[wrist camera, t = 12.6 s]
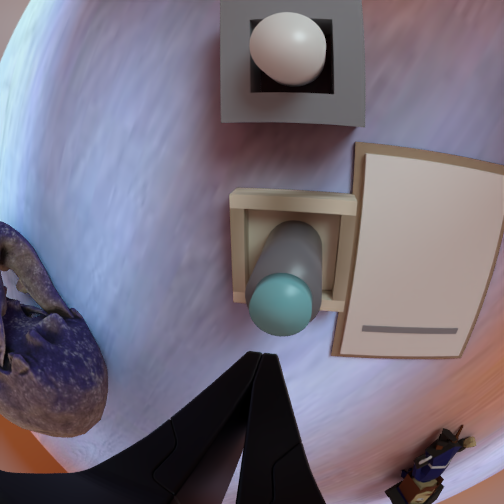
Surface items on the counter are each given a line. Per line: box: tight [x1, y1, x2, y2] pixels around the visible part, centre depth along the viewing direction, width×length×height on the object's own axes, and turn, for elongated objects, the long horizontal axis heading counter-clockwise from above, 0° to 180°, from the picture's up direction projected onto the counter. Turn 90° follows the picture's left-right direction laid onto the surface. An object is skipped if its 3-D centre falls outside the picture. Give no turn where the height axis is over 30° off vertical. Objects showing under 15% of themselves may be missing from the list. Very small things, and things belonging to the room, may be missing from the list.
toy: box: [385, 425, 476, 504], centre depth 25 cm, size 9×6×15 cm
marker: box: [245, 220, 322, 336], centre depth 16 cm, size 3×3×7 cm
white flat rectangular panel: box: [331, 142, 504, 359], centre depth 18 cm, size 11×15×1 cm
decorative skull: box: [0, 221, 108, 437], centre depth 23 cm, size 12×18×20 cm
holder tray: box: [229, 188, 357, 312], centre depth 19 cm, size 7×7×2 cm
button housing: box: [220, 0, 365, 127], centre depth 14 cm, size 7×7×3 cm
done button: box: [249, 12, 326, 87], centre depth 12 cm, size 3×3×3 cm
